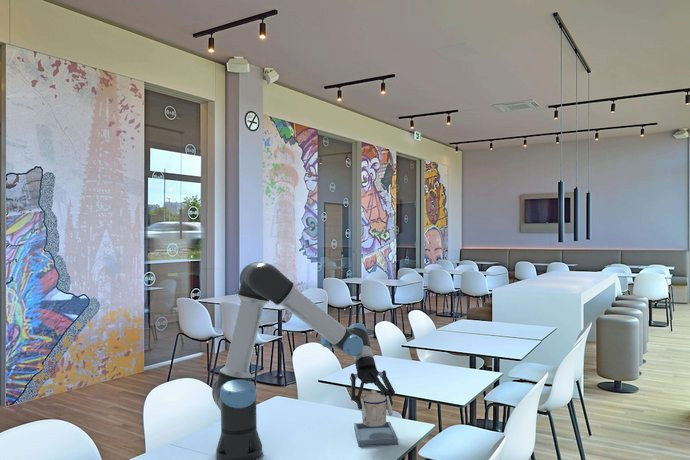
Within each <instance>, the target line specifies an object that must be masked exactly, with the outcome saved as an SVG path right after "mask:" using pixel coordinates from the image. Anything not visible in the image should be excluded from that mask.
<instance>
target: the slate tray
mask: <svg viewBox="0 0 690 460" xmlns="http://www.w3.org/2000/svg"><path fill="white" fill-rule="evenodd" d="M353 427H354V428H353V429H354V433H355V438H356V442H357V445H358V447H374V446H393V445H398V444H399V443H398V442H399V441H398V440H399V438H398V437H397V434H396V431H395V430H394V428H393V425H392V423H391V421H386V423H385V424H384V425H382V426H377V427H372V426H367V425H365V424H363V422H357V423H353Z"/></svg>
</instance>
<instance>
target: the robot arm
mask: <svg viewBox="0 0 690 460" xmlns="http://www.w3.org/2000/svg"><path fill="white" fill-rule="evenodd" d="M237 296H238V298H239V299H240V302H239V303H240V304H239V306H238V307H239V308H238V312H237V316H236V318H235V319H236V320H235V324H234V327H233V328H234V329H233V333H232V335H231V340H230V345H229V347H228V352H227V355H226V360H225V365H224V366H223V367H221V368H220V369H219V372H218V376H217V379H216V380H215V381H214V383H213V385H212V391H211V394H212V398H213V402H214V403H215V405H216V406H217V408H218V409H219V412H220V436H219V439H218V443H217V446H216V450H215V455H216V456H215V457H216V459H217V460H257V459H258V458H260V457H261V456H262V454H263V444H262V441H261V438H260V435H259V432H258V427H257V424H258V423H257V395H258V393H257V388H256V385H255V384H254V383H253V382H252V381H251V380H252V374H251V372H250V366H251V362H252V358H253V353H254V349H255V344H256V341H257V338H258V337H257V336H258V332H259V328H260V324H261V319H262V315H263V311H264V306H265V305H266V304H268V303H269V302H272V303H273V304H275V306H279V305H280V306H282V307H283V308H284V309H285V310H286V311H289V312H290V313H291V314H292V315H294V316H295V317H296V318H297V319H299V320H300V321H302V322H303V323H304V324H305V325H306V326H308V327H310V328H311V329H312V330H314V331H315V332H316V333H318V334H319V335H320V344H321V346H322V347H323V348H328V349H330V348H331V349H332V348H333V349H335V350H338V351H340V352H342V353H344V354H345V355H347V356H349V357H350V356H351V357H353V360H354V365H355V368H356V369H355V370H356V373H353V372H352V373H351V374H350V377H349V380H350V382H351V383H350V386H351V387H350V400H351V402H352V401H353V402H354V401H355V403H356V405H357V409H358V411H359V410H360V411H361V412H360V413H361V417H362V416H363V419H365V418H366V416H367V415H366V411H365V406H364V402H363V398H362V394H363V393H362V392H363V390H364V387H365V385H368V384H373V385H374V386H376V387H377V389H378V390H379V391H380V392H381V393H382V395H384V396H385V397H386V411H387V413H388V416H389V417H392V416H393V413H394V411H393V409H392V408H393V399H392V398H393V397H394V396H395V394H396V391H395V389H394V388H393V385H392V384H391V382H390V380H389V378H388V376H387V372H386V370H382V371H379V370H378V369H377V365H376V361H375V358H374V353H373V349H372V346H371V342H370V338H369V333H368V331H367V328H366V326H365V325H364V324H363V323H358V322H357V323H353V324H351V325H349V327H345V326H344V325H343V324H341V322H339V321H338V320H336V319H335V318H334V317H332V316H331V315H330V314H328V312H326V311H325V310H323V308H321V307H320V306H319V305H317V304H316V303H314V301H312V300H311V299H310V298H308V297H307V296H306V295H304V294H303V293H302V292H301V291H299V290H298V289H297V288H296V287H295V284H294V282H292V280H290V279H289V278H288V277H287V276H286V275H285V274H283V273H282V272H281V271H280V270H279V269H278V268H277V267H276V266H274V265H272V264H271V263H266V262H262V261H254V262H251V263H250V262H249V263H248V264H247V265H245V266H244V267H243V268H242V270H241V271H240V273H239V289H238V293H237ZM378 376H379V377H380V378H381V380H382V382H383V383H382V382H381V380H380V378H379V377H378ZM357 379H359V380H360V381H361V382H360V385H359V389H358V392H357V395H356V382H357Z"/></svg>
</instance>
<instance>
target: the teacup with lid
mask: <svg viewBox="0 0 690 460" xmlns="http://www.w3.org/2000/svg"><path fill="white" fill-rule="evenodd" d="M361 398H363V402H364V406H365V411H366V415H367V416H366V418H365V419H363V416H362V415H361V417H362V422H361V423H363V424H365V425H367V426H372V427H377V426H382V425H384V424H385V423H386V422H387V406H386V397H385V396H384V394H381V393H379V392H377V390H376V389H372V390H370V392H369V393H367V394H364V395H362V396H361Z"/></svg>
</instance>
